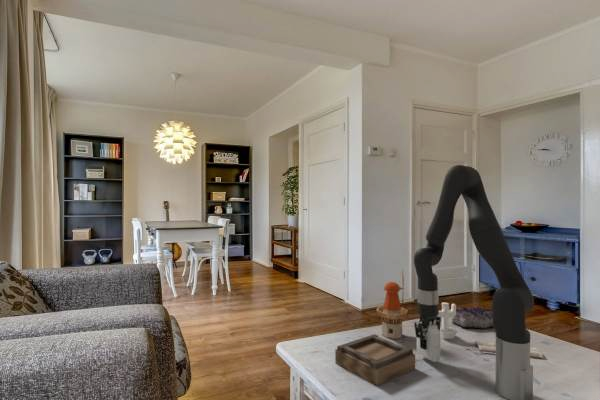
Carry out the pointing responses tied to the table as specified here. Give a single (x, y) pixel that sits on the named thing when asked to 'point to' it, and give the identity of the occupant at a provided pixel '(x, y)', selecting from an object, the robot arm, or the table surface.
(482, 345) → the newspaper
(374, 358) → the walnut plinth
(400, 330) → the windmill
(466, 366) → the table surface
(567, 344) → the table surface
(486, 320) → the geode
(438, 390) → the table surface
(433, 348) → the photo printer
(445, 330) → the figurine
